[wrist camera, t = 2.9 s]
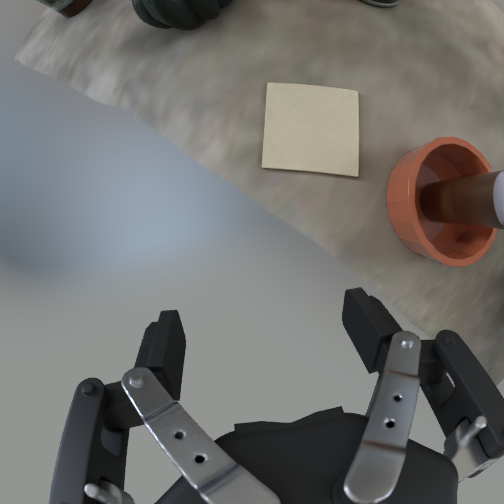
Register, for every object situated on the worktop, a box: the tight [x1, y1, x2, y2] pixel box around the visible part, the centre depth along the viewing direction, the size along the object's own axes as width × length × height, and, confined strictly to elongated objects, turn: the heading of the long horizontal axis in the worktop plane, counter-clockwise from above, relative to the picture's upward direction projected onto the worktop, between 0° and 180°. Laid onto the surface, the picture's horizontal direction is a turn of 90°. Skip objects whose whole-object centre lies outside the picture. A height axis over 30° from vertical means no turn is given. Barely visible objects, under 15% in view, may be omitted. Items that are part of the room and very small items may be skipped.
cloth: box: [262, 83, 359, 177], centre depth 28 cm, size 11×11×1 cm
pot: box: [386, 137, 498, 267], centre depth 24 cm, size 14×14×6 cm
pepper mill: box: [420, 170, 504, 229], centre depth 20 cm, size 5×5×14 cm
